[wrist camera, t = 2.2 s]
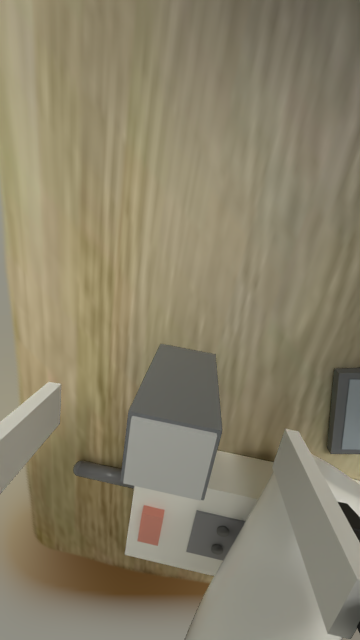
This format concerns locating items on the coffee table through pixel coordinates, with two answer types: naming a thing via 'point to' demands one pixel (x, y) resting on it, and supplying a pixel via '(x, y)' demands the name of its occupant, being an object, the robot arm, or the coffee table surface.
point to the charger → (174, 424)
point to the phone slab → (345, 412)
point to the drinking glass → (268, 575)
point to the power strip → (190, 513)
